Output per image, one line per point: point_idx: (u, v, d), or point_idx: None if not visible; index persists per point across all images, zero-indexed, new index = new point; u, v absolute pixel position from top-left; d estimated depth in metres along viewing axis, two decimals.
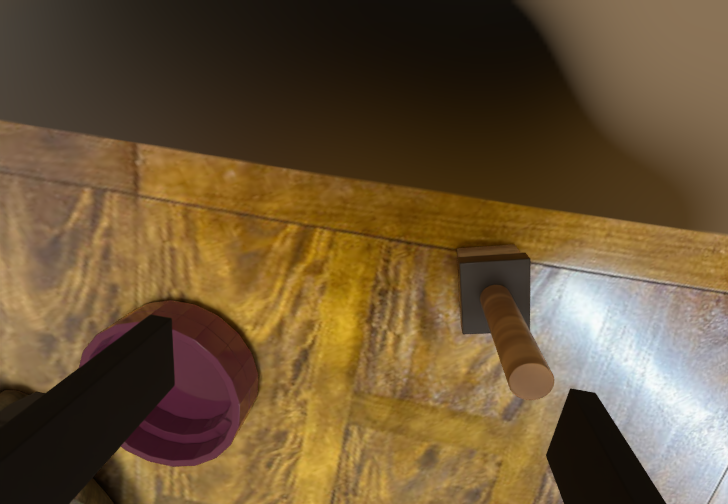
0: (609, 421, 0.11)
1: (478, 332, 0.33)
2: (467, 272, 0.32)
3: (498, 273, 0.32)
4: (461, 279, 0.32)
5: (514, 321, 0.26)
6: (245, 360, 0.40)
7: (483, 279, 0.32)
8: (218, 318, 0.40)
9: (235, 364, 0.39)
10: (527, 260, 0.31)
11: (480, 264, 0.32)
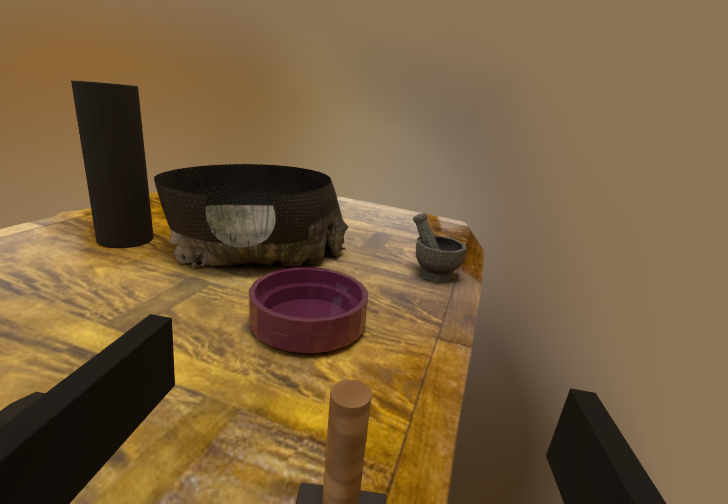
0: (609, 421, 0.11)
1: (298, 498, 0.29)
2: (374, 499, 0.29)
3: None
4: (367, 492, 0.30)
5: (363, 458, 0.25)
6: (311, 343, 0.51)
7: None
8: (346, 344, 0.53)
9: (316, 331, 0.50)
10: None
11: None
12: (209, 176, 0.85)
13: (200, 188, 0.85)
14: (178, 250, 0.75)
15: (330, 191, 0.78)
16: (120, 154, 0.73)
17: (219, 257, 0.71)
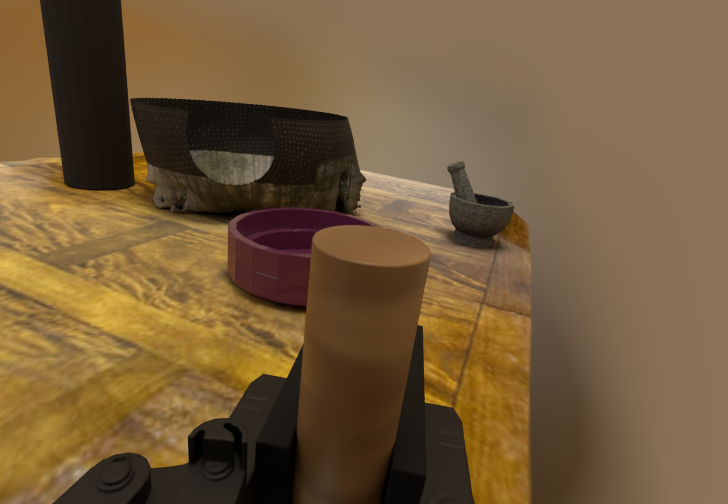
0: (422, 344, 0.14)
1: None
2: None
3: None
4: None
5: None
6: None
7: None
8: None
9: None
10: None
11: None
12: (203, 114, 0.71)
13: (192, 127, 0.71)
14: (156, 191, 0.61)
15: (346, 129, 0.63)
16: (94, 70, 0.60)
17: (203, 198, 0.56)
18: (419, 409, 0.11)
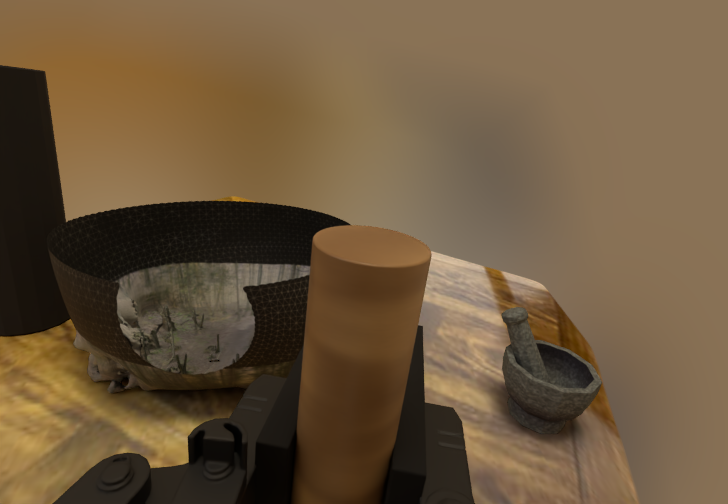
0: (422, 344, 0.14)
1: None
2: None
3: None
4: None
5: (395, 440, 0.09)
6: None
7: None
8: None
9: None
10: None
11: None
12: (168, 219, 0.54)
13: (152, 238, 0.53)
14: (91, 356, 0.43)
15: None
16: (3, 185, 0.43)
17: (151, 383, 0.38)
18: (419, 409, 0.11)
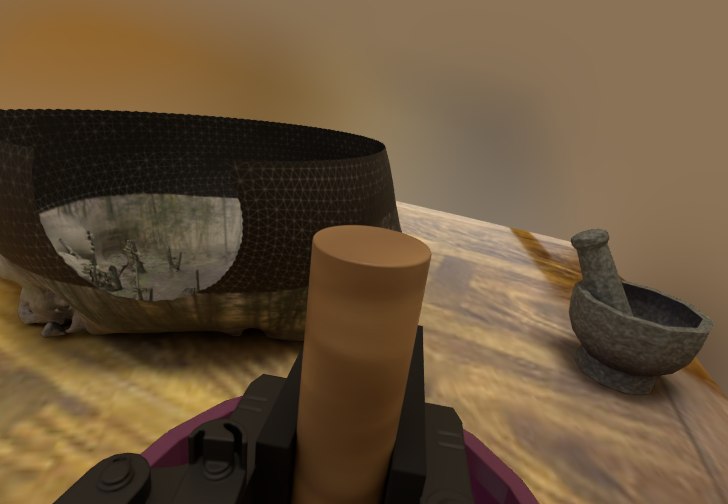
0: (422, 344, 0.14)
1: None
2: None
3: None
4: None
5: (395, 440, 0.09)
6: None
7: None
8: None
9: None
10: None
11: None
12: (136, 134, 0.42)
13: (116, 157, 0.42)
14: (22, 290, 0.32)
15: (385, 169, 0.34)
16: None
17: (98, 319, 0.27)
18: (419, 409, 0.11)
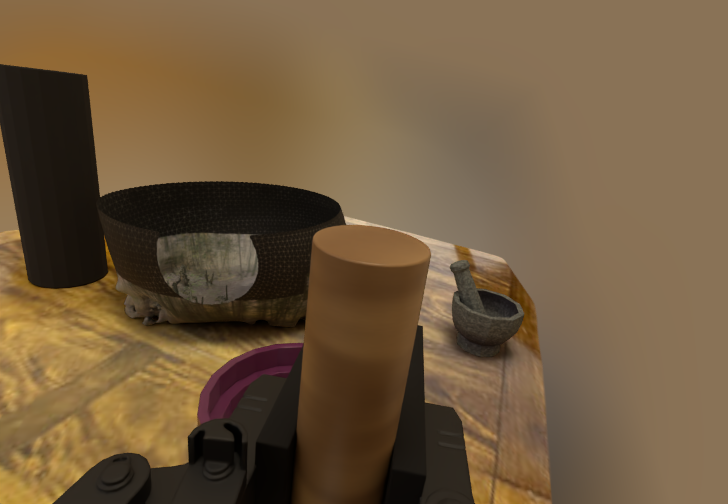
0: (422, 344, 0.14)
1: None
2: None
3: None
4: None
5: None
6: None
7: None
8: None
9: None
10: None
11: None
12: (183, 196, 0.65)
13: (170, 211, 0.65)
14: (128, 298, 0.55)
15: (339, 225, 0.57)
16: (57, 165, 0.54)
17: (178, 314, 0.50)
18: (419, 409, 0.11)
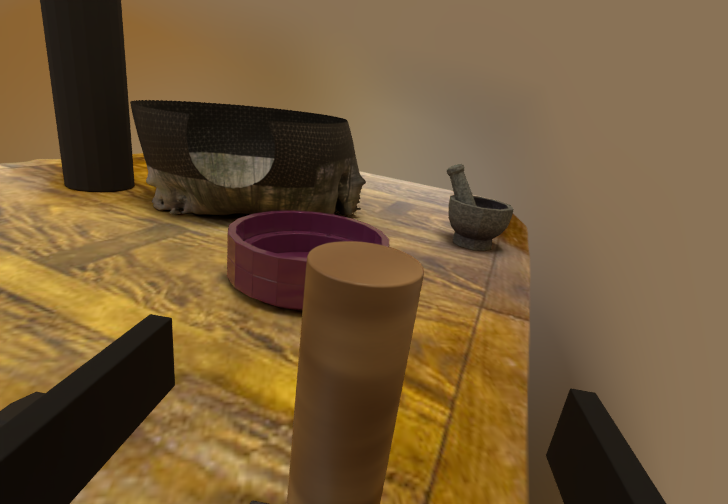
0: (610, 421, 0.11)
1: None
2: None
3: None
4: None
5: (389, 453, 0.10)
6: None
7: None
8: None
9: None
10: None
11: None
12: (203, 116, 0.72)
13: (192, 129, 0.71)
14: (156, 193, 0.61)
15: (346, 132, 0.63)
16: (94, 73, 0.60)
17: (203, 200, 0.57)
18: None
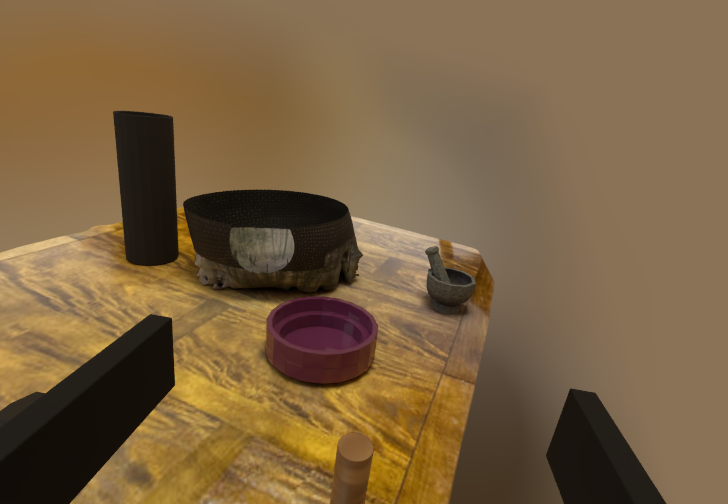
0: (609, 421, 0.11)
1: None
2: None
3: None
4: None
5: None
6: (322, 374, 0.54)
7: None
8: (355, 375, 0.56)
9: (328, 364, 0.54)
10: None
11: None
12: (233, 200, 0.90)
13: (224, 211, 0.89)
14: (201, 271, 0.79)
15: (347, 221, 0.81)
16: (153, 179, 0.79)
17: (239, 281, 0.75)
18: None
